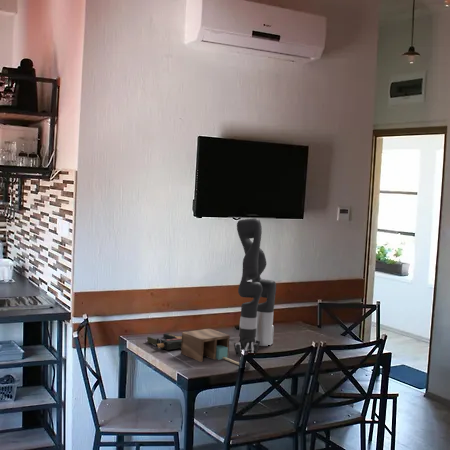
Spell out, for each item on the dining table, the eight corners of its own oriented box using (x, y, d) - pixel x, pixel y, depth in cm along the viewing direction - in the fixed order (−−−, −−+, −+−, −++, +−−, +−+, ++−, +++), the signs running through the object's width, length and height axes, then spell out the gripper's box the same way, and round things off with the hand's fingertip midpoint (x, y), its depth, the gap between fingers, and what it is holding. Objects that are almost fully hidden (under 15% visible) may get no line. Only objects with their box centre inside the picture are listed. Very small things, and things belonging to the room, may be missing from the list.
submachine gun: (134, 343, 312) (161, 353, 292) (135, 333, 312) (161, 342, 292) (183, 338, 330) (211, 347, 310) (183, 329, 330) (211, 337, 310)
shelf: (208, 349, 304) (209, 328, 303) (228, 356, 293) (229, 335, 292) (180, 353, 293) (182, 332, 293) (200, 361, 282) (201, 339, 281)
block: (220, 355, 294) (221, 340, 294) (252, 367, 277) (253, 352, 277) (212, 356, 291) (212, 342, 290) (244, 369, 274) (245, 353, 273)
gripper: (254, 323, 283) (251, 360, 284) (230, 326, 274) (228, 364, 275) (265, 326, 277) (263, 364, 279) (241, 330, 268) (239, 369, 269)
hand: (245, 364), depth 277 cm, fingers closed on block, 4 cm apart
